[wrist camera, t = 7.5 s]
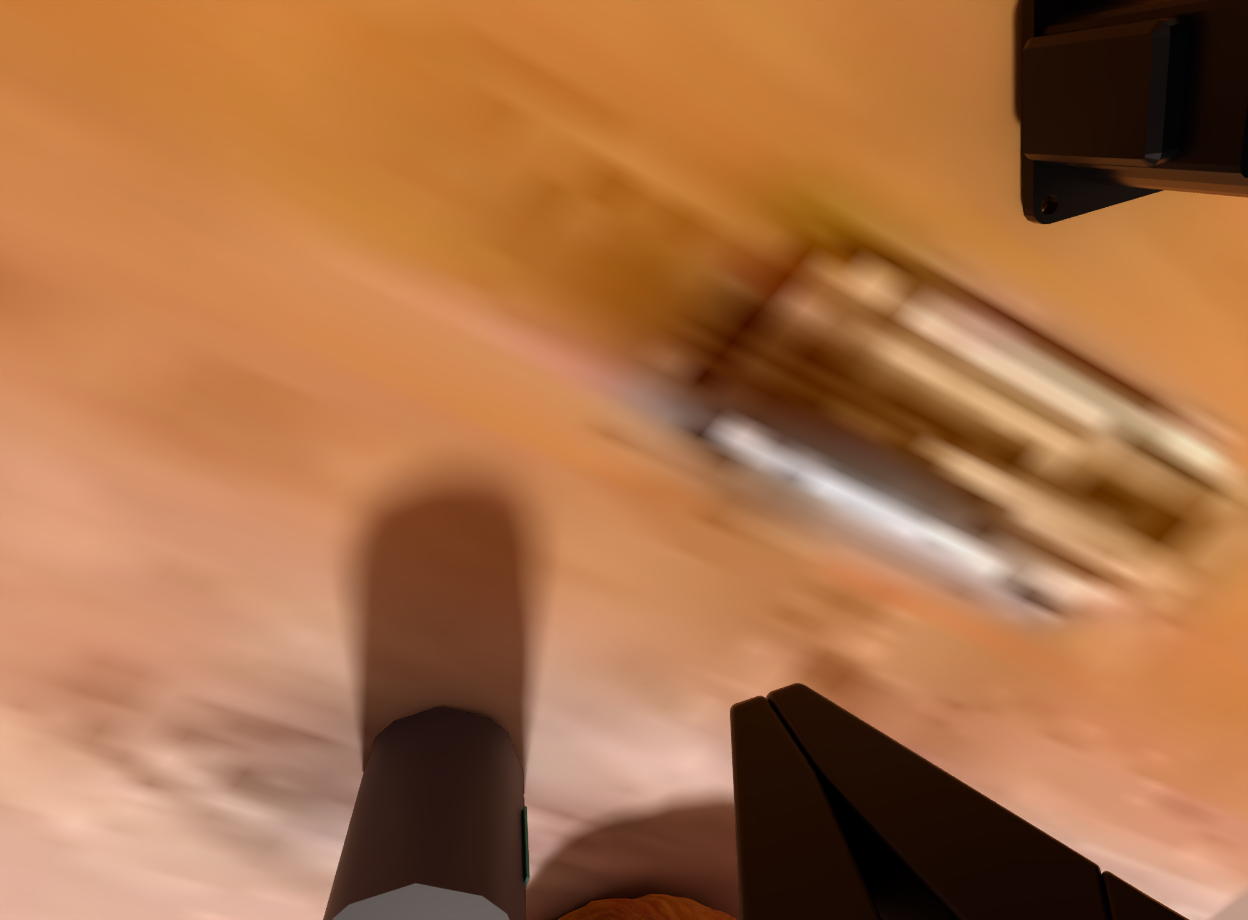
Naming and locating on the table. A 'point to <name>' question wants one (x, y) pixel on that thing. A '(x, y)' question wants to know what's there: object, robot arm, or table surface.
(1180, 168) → the robot arm
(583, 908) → the croissant
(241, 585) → the table surface
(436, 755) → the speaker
